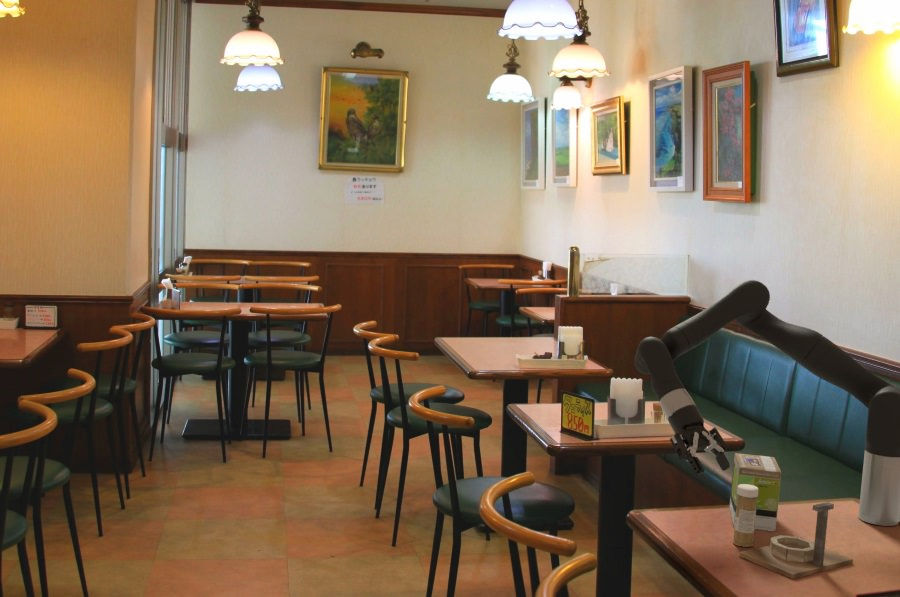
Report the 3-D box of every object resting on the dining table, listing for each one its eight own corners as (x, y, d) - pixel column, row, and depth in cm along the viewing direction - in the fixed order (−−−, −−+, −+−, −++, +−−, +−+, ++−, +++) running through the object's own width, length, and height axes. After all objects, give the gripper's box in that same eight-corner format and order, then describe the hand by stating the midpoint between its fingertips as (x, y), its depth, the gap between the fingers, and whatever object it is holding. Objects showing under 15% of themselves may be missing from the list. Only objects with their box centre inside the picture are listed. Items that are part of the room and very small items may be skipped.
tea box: (777, 532, 236) (782, 471, 235) (732, 527, 238) (737, 466, 237) (770, 513, 251) (775, 455, 249) (728, 508, 253) (733, 451, 251)
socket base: (798, 542, 230) (804, 483, 228) (852, 563, 218) (858, 500, 217) (739, 556, 219) (744, 493, 217) (792, 579, 207) (798, 513, 206)
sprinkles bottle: (734, 539, 230) (739, 482, 228) (755, 543, 228) (760, 485, 226) (731, 545, 226) (735, 487, 224) (752, 549, 224) (757, 490, 222)
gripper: (693, 417, 248) (725, 475, 240) (651, 423, 240) (682, 483, 232) (711, 401, 243) (744, 459, 235) (668, 406, 235) (701, 466, 227)
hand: (713, 471), depth 233 cm, fingers open, 8 cm apart
